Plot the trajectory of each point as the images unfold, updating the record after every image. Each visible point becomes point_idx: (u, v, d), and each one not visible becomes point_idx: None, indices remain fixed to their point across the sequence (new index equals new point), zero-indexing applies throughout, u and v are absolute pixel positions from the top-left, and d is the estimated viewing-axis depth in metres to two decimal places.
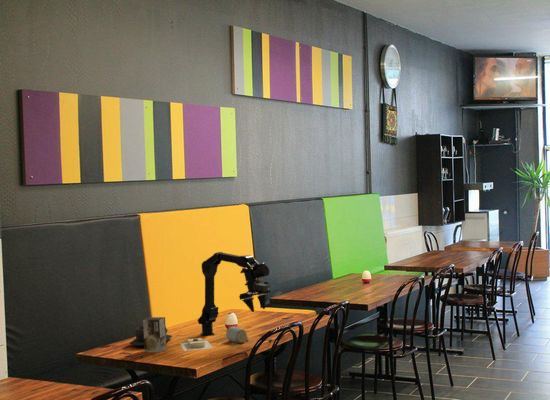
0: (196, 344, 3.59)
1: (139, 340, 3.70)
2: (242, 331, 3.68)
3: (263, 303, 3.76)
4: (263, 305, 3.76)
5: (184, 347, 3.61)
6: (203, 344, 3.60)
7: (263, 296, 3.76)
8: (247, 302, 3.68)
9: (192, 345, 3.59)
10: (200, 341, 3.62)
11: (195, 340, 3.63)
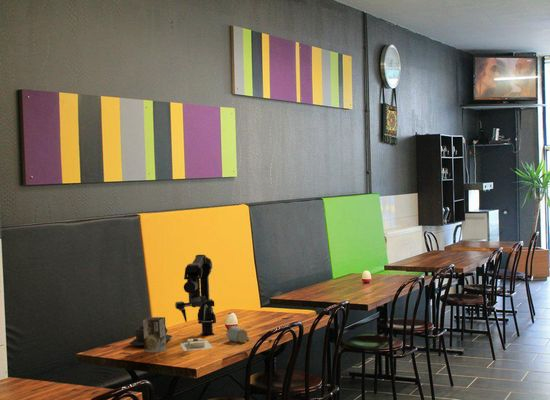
0: (196, 344, 3.59)
1: (139, 340, 3.70)
2: (243, 331, 3.68)
3: (204, 315, 3.65)
4: (204, 317, 3.65)
5: (184, 347, 3.61)
6: (203, 344, 3.60)
7: (205, 308, 3.64)
8: None
9: (192, 345, 3.59)
10: (200, 341, 3.62)
11: (195, 340, 3.63)
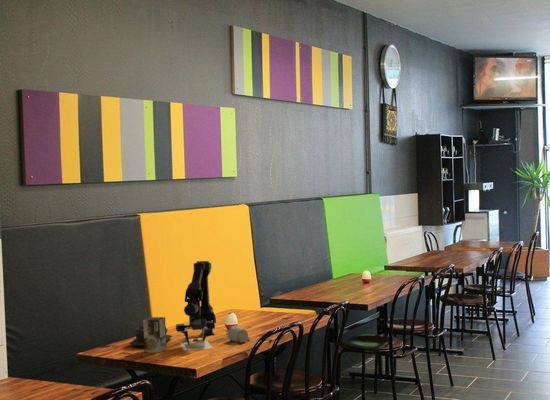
0: (196, 344, 3.59)
1: (139, 340, 3.70)
2: (243, 331, 3.69)
3: (203, 337, 3.65)
4: None
5: (184, 347, 3.61)
6: (203, 344, 3.60)
7: (204, 331, 3.64)
8: None
9: (192, 345, 3.59)
10: (200, 341, 3.62)
11: (195, 340, 3.63)
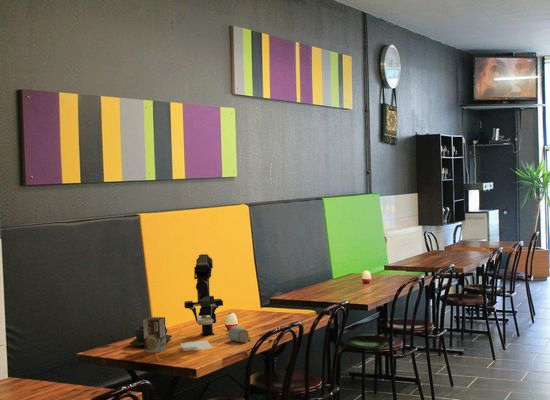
0: (204, 321, 3.60)
1: (139, 340, 3.70)
2: (244, 331, 3.69)
3: (211, 314, 3.66)
4: (211, 316, 3.67)
5: (184, 347, 3.61)
6: (211, 321, 3.61)
7: (212, 308, 3.66)
8: None
9: (200, 322, 3.60)
10: (208, 318, 3.64)
11: (203, 317, 3.65)
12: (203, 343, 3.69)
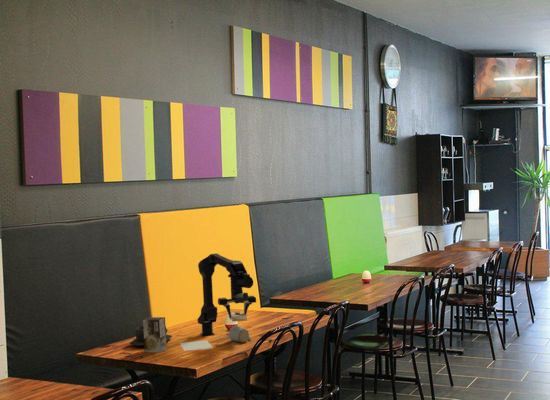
0: (238, 317, 3.66)
1: (139, 340, 3.70)
2: (244, 331, 3.69)
3: (244, 311, 3.72)
4: (244, 313, 3.72)
5: (184, 347, 3.61)
6: (245, 317, 3.67)
7: (245, 304, 3.71)
8: (226, 307, 3.71)
9: (234, 318, 3.66)
10: (242, 314, 3.69)
11: (237, 314, 3.70)
12: (203, 343, 3.69)
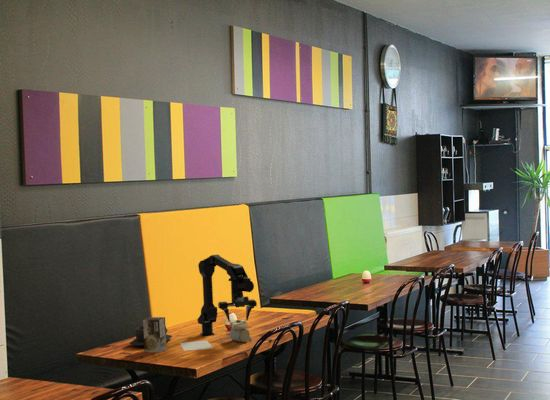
0: (239, 325, 3.66)
1: (139, 340, 3.70)
2: (245, 330, 3.69)
3: (246, 315, 3.73)
4: (246, 317, 3.73)
5: (184, 347, 3.61)
6: (246, 325, 3.67)
7: (247, 308, 3.72)
8: None
9: (235, 326, 3.66)
10: (243, 322, 3.70)
11: (238, 321, 3.71)
12: (203, 343, 3.69)
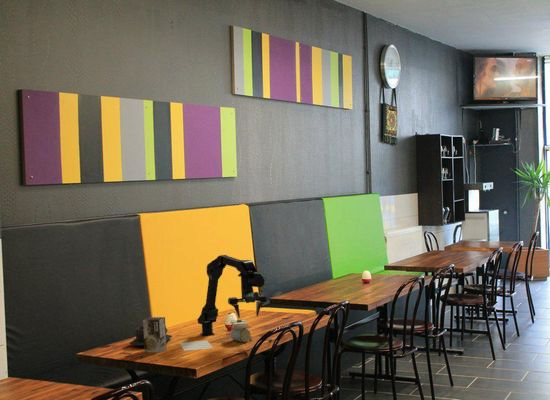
0: (240, 325, 3.67)
1: (139, 340, 3.70)
2: (246, 330, 3.70)
3: (257, 311, 3.68)
4: (256, 313, 3.68)
5: (184, 347, 3.61)
6: (246, 325, 3.68)
7: (258, 304, 3.67)
8: (235, 307, 3.66)
9: (236, 326, 3.67)
10: (244, 322, 3.70)
11: (239, 321, 3.71)
12: (203, 343, 3.69)
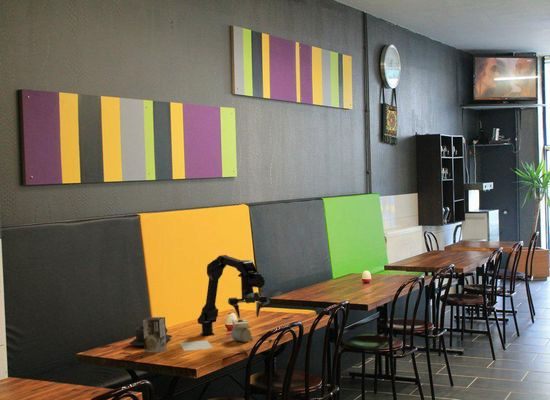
0: (240, 325, 3.67)
1: (139, 340, 3.70)
2: (246, 330, 3.70)
3: (257, 311, 3.68)
4: (256, 313, 3.68)
5: (184, 347, 3.61)
6: (247, 325, 3.68)
7: (258, 304, 3.67)
8: (235, 307, 3.66)
9: (236, 325, 3.67)
10: (244, 322, 3.70)
11: (240, 321, 3.72)
12: (203, 343, 3.69)
